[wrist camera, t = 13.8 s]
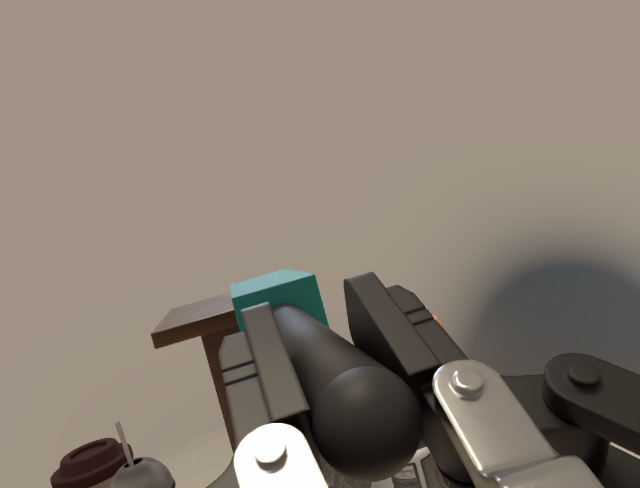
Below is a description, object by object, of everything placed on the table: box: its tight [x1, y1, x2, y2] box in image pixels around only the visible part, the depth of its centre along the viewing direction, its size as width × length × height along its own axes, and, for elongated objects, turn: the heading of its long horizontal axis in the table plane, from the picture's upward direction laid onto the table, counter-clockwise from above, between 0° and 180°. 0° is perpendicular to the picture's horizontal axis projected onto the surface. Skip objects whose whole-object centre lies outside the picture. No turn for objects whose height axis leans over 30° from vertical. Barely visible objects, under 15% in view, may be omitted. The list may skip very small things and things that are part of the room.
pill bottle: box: [391, 447, 441, 488], centre depth 61 cm, size 6×6×10 cm
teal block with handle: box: [229, 269, 423, 482], centre depth 19 cm, size 22×4×4 cm, turn 12°
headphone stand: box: [151, 293, 240, 454], centre depth 41 cm, size 13×41×32 cm, turn 102°
